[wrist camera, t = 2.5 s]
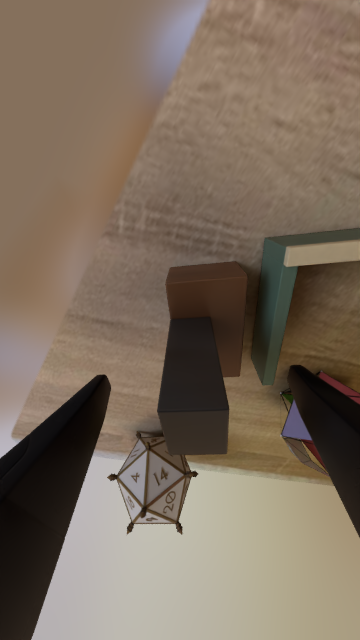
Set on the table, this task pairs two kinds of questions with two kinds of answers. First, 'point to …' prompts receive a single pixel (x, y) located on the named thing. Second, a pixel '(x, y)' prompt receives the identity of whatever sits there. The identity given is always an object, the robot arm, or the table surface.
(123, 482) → the game die
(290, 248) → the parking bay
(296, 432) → the geometric puzzle
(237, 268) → the walnut pusher
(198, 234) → the table surface
